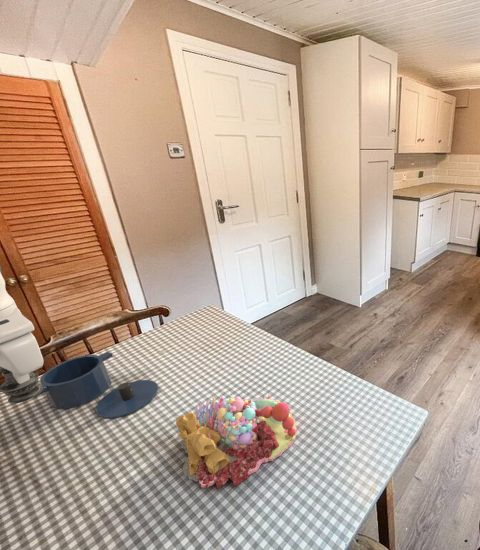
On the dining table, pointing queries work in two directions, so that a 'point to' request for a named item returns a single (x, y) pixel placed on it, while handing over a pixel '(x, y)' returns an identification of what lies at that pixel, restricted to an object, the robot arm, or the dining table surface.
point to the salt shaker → (19, 387)
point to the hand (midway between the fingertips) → (17, 378)
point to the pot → (76, 381)
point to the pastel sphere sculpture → (234, 438)
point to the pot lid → (127, 399)
